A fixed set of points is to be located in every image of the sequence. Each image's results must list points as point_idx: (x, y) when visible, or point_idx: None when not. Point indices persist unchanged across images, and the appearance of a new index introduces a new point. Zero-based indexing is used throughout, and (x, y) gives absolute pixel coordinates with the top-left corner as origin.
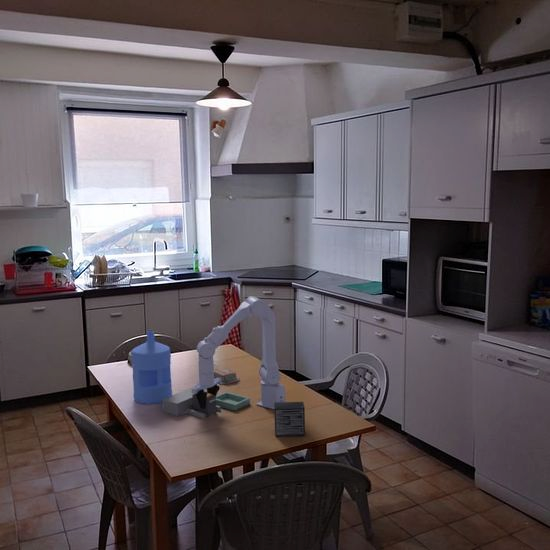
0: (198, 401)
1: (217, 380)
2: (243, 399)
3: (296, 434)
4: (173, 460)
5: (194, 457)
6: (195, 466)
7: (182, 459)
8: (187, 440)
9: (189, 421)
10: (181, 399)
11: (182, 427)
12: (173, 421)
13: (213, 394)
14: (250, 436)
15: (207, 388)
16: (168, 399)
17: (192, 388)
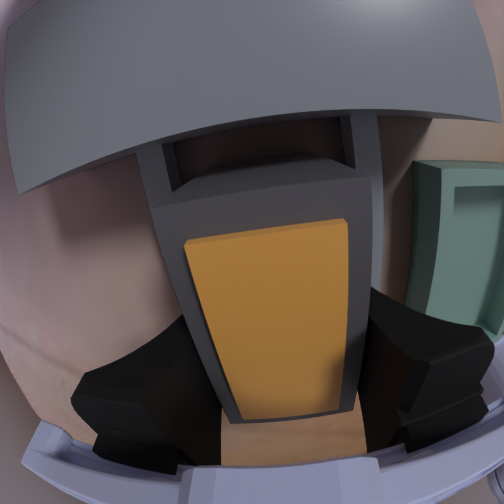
0: (178, 321)
1: (470, 484)
2: (498, 308)
3: None
4: (39, 403)
5: (76, 427)
6: (75, 436)
7: (54, 414)
8: (70, 387)
9: (110, 291)
10: (78, 109)
11: (66, 316)
12: (46, 227)
13: (353, 396)
14: (239, 465)
15: (394, 368)
16: (20, 50)
17: (32, 470)
